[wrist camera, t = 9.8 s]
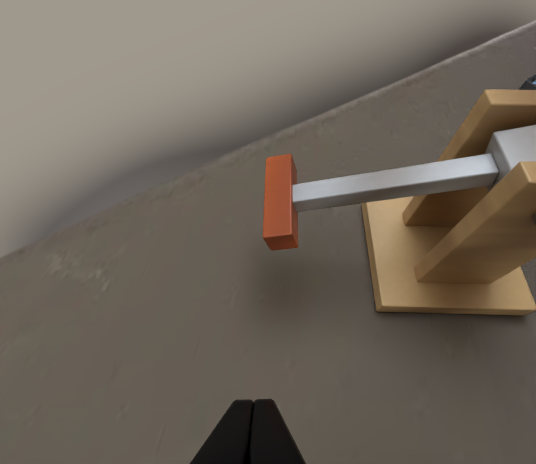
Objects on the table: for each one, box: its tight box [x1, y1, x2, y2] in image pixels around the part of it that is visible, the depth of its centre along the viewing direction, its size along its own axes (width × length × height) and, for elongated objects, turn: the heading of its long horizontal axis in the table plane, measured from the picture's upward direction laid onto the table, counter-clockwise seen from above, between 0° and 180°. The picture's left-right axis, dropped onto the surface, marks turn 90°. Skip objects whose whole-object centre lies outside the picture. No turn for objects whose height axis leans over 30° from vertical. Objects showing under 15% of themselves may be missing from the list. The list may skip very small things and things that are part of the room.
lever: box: [263, 125, 536, 250], centre depth 15 cm, size 13×5×2 cm, turn 89°
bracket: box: [361, 89, 536, 315], centre depth 17 cm, size 9×8×11 cm
